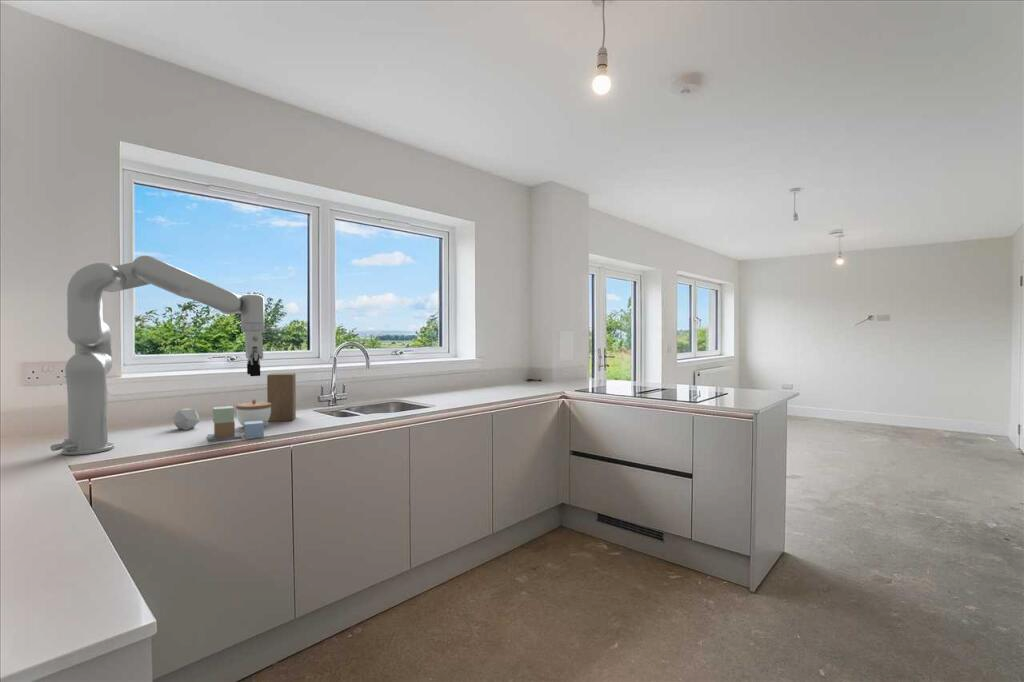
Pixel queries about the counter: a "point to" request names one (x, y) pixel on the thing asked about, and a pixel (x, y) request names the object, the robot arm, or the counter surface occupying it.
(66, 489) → the counter surface
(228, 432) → the tower base
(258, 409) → the lidded bowl
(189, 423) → the die
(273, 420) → the wooden block
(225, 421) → the green brick
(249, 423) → the light blue block
